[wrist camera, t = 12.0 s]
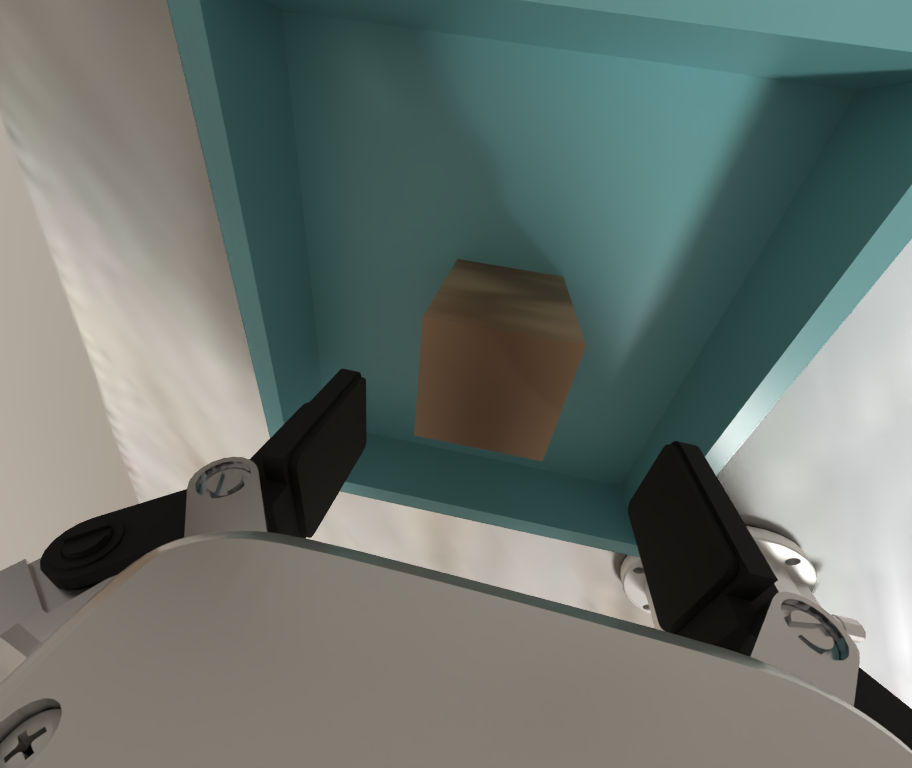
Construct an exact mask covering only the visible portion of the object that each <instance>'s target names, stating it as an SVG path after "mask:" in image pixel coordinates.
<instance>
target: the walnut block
mask: <svg viewBox="0 0 912 768" xmlns="http://www.w3.org/2000/svg"><path fill="white" fill-rule="evenodd" d="M585 347H586V344H585V341H584V338H583V334H582V331H581V328H580V325H579V322H578V319H577V316H576V313H575V310H574V307H573V304H572V301H571V298H570V295H569V292H568V289H567V286H566V283H565V280H564V277H562V276H556V275H550V274H544V273H538V272H533V271H527V270H521V269H515V268H509V267H503V266H497V265H491V264H485V263H479V262H473V261H467V260H461V259H457V261H456V262H455V264H454V266H453V267H452V269H451V271H450V272H449V274H448V276H447V277H446V279H445V281H444V282H443V284H442V285H441V287H440V289H439V290H438V292H437V294H436V295H435V297H434V299H433V300H432V302H431V304H430V305H429V307H428V308H427V310H426V312H425V313H424V315H423V321H422V335H421V348H420V362H419V376H418V390H417V404H416V417H415V431H414V436H419V437H424V438H429V439H434V440H439V441H444V442H449V443H454V444H459V445H464V446H469V447H474V448H479V449H484V450H488V451H493V452H498V453H503V454H508V455H513V456H518V457H523V458H528V459H533V460H538V461H543V459H544V456H545V453H546V451H547V448H548V446H549V443H550V440H551V438H552V435H553V432H554V430H555V427H556V424H557V422H558V419H559V416H560V414H561V411H562V408H563V406H564V403H565V400H566V398H567V395H568V392H569V390H570V387H571V384H572V382H573V379H574V376H575V374H576V371H577V368H578V366H579V363H580V360H581V358H582V355H583V353H584V350H585Z"/></svg>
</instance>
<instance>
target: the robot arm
mask: <svg viewBox="0 0 912 768" xmlns="http://www.w3.org/2000/svg"><path fill="white" fill-rule="evenodd" d="M366 440H367V433H366V379H365V378H364V377H361V373H360V372H357V371H353V370H348V369H340V370H339V371H338V372H337V373H336V374H335V376H334V377H333V378H332V379H331V380H330V381H329V382H328V383H327V384H326V385H325V386H324V387H323V388H322V389H321V390H320V391H319V392H318V393H317V394H316V396H315V397H314V398H313V399H312V400H311V401H310V402H307V403H305V404H303V405H302V406H301V407H300V408H299V409H298V410H297V411H296V412H295V413H294V414H293V415H292V416H291V417H290V418H289V419H288V420H287V422H286V423H285V424H284V425H283V426H282V427H281V428H280V429H279V430H278V431H277V432H276V433H275V434H274V435H273V436H272V437H271V438H270V439H269V440H268V441H267V442H266V443H265V444H264V445H263V446H262V447H261V448H260V449H259V450H258V452H257V453H256V454H255V455H254V456H253V457H252V458H251V459H250V460H249V459H246V458H243V457H230V458H223V459H220V460H217V461H214V462H211V463H210V464H208V465H206V466H204V467H202V468H201V469H200V470H199V471H197V472H196V473H195V474H194V475H193V477H192V478H191V479H190V481H189V484H188V487H187V489H186V490H183V491H179V492H176V493H173V494H170V495H166V496H163V497H160V498H157V499H153V500H150V501H147V502H144V503H140V504H137V505H134V506H131V507H127V508H124V509H121V510H118V511H115V512H111V513H108V514H105V515H101V516H98V517H95V518H92V519H90V520H87V521H84V522H82V523H79V524H78V525H76V526H74V527H72V528H70V529H69V530H67V531H65V532H64V533H63V534H61V535H60V536H59V537H58V538H56V539H55V540H54V541H53V542H52V543H51V544H50V545H49V547H48V548H47V549H46V550H45V551H44V553H43V555H42V557H41V558H40V559H38V560H36V561H34V562H32V563H29V562H28V561H27V560H26V559H24V560H22V561H20V562H18V563H16V564H14V565H12V566H10V567H8V568H6V569H4V570H2V571H0V768H912V709H911V708H910V707H908V706H907V705H906V704H905V703H903V702H902V701H901V700H900V699H898V698H897V697H896V696H895V695H893V694H892V693H891V692H890V691H888V690H887V689H886V688H885V687H883V686H882V685H881V684H879V683H878V682H877V681H876V680H874V679H873V678H872V677H871V676H869V675H868V674H867V673H866V672H864V671H863V670H862V669H861V668H859V659H860V657H859V650H858V648H857V646H856V644H855V643H854V642H863V641H864V640H865V631H864V629H863V626H862V625H861V624H860V623H859V622H858V621H856V620H854V619H851V618H846V617H842V616H837V615H830V614H829V613H828V612H826V611H825V610H824V609H823V608H821V606H820V605H819V603H818V602H817V600H816V598H815V597H814V595H813V594H812V591H813V589H814V587H815V585H816V579H817V575H816V571H815V568H814V566H813V564H812V563H811V562H810V560H809V559H808V557H807V556H806V554H805V553H804V551H803V550H802V549H801V548H799V547H798V546H797V545H796V544H795V543H794V542H792V541H790V540H789V539H787V538H785V537H784V536H782V535H779V534H776V533H773V532H771V531H768V530H765V529H760V528H755V527H750V526H746V525H745V524H744V522H743V520H742V519H741V517H740V515H739V513H738V512H737V510H736V508H735V507H734V505H733V503H732V502H731V500H730V498H729V497H728V495H727V493H726V492H725V490H724V488H723V487H722V485H721V483H720V482H719V480H718V478H717V477H716V475H715V473H714V472H713V470H712V468H711V466H710V465H709V463H708V461H707V460H706V458H705V456H704V455H703V453H702V451H701V450H700V448H699V447H698V446H696V445H693V444H688V443H683V442H679V441H674V442H672V443H671V444H666V445H665V446H664V447H663V449H662V450H661V452H660V453H659V455H658V457H657V458H656V460H655V461H654V463H653V465H652V466H651V468H650V470H649V471H648V473H647V474H646V476H645V478H644V479H643V481H642V482H641V484H640V486H639V487H638V489H637V490H636V492H635V494H634V495H633V497H632V499H631V500H630V502H629V505H628V515H629V519H630V522H631V526H632V529H633V533H634V537H635V540H636V544H637V548H638V551H639V555H640V557H635V556H631V555H628V556H627V557H626V558H625V559H624V561H623V563H622V566H621V570H620V577H621V581H622V586H623V590H624V592H625V594H626V596H627V598H628V599H629V600H630V601H631V602H632V603H633V604H634V605H636V606H637V607H638V608H640V609H641V610H643V611H644V612H646V613H649V614H651V615H652V619H653V622H654V626H655V629H654V628H650V627H647V626H643V625H639V624H635V623H632V622H628V621H624V620H620V619H617V618H613V617H609V616H605V615H602V614H598V613H594V612H590V611H587V610H583V609H579V608H576V607H572V606H568V605H564V604H561V603H557V602H553V601H549V600H545V599H542V598H538V597H534V596H530V595H526V594H522V593H519V592H515V591H511V590H507V589H503V588H500V587H496V586H492V585H488V584H484V583H480V582H477V581H473V580H469V579H465V578H461V577H457V576H454V575H450V574H446V573H442V572H438V571H434V570H430V569H426V568H423V567H419V566H415V565H411V564H407V563H403V562H399V561H395V560H391V559H387V558H383V557H380V556H376V555H372V554H368V553H364V552H360V551H356V550H352V549H347V548H343V547H339V546H335V545H331V544H326V543H322V542H318V541H314V540H310V539H305V538H306V537H309V538H310V537H312V536H313V535H314V533H315V532H316V530H317V528H318V527H319V525H320V523H321V522H322V520H323V518H324V517H325V515H326V513H327V511H328V510H329V508H330V506H331V505H332V503H333V501H334V500H335V498H336V496H337V495H338V493H339V491H340V490H341V488H342V486H343V485H344V483H345V481H346V480H347V478H348V476H349V474H350V473H351V471H352V469H353V468H354V466H355V464H356V463H357V461H358V459H359V458H360V456H361V454H362V453H363V451H364V449H365V446H366Z"/></svg>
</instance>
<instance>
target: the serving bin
mask: <svg viewBox="0 0 912 768" xmlns="http://www.w3.org/2000/svg"><path fill="white" fill-rule="evenodd" d="M167 3H168V7H169V11H170V15H171V20H172V24H173V28H174V32H175V37H176V41H177V45H178V49H179V54H180V58H181V62H182V66H183V71H184V75H185V79H186V83H187V87H188V92H189V96H190V100H191V104H192V109H193V113H194V117H195V121H196V126H197V130H198V134H199V138H200V143H201V147H202V151H203V155H204V160H205V164H206V168H207V172H208V176H209V181H210V185H211V189H212V193H213V198H214V202H215V206H216V210H217V215H218V219H219V223H220V227H221V232H222V236H223V240H224V244H225V249H226V253H227V257H228V261H229V266H230V270H231V274H232V278H233V282H234V287H235V291H236V295H237V299H238V304H239V308H240V312H241V316H242V321H243V325H244V329H245V333H246V338H247V342H248V346H249V350H250V355H251V359H252V363H253V367H254V372H255V376H256V380H257V384H258V388H259V393H260V397H261V401H262V405H263V410H264V414H265V418H266V422H267V427H268V431H269V435H270V438H271V437H272V436H273V435H274V434H275V433H276V432H277V431H278V430H279V429H280V428H281V427H282V426H283V425H284V424H285V423H286V422H287V420H288V419H289V418H290V417H291V416H292V415H293V414H294V413H295V412H296V411H297V410H298V409H299V408H300V407H301V406H302V405H303V404H305V403H307V402H310V401H311V400H312V399H313V398H314V397H315V396H316V394H317V393H318V392H319V391H320V390H321V389H322V388H323V387H324V386H325V385H326V384H327V383H328V382H329V381H330V380H331V379H332V378H333V377H334V376H335V374H336V373H337V372H338V371H339V370H340V369H348V370H353V371H357V372H360V373H361V377H364V378H365V379H366V433H367V440H366V446H365V449H364V451H363V453H362V454H361V456H360V458H359V459H358V461H357V463H356V464H355V466H354V468H353V469H352V471H351V473H350V474H349V476H348V478H347V480H346V481H345V483H344V485H343V486H342V488H341V490H340V491H341V492H345V493H350V494H355V495H359V496H364V497H368V498H373V499H377V500H382V501H386V502H391V503H395V504H400V505H404V506H409V507H413V508H418V509H422V510H427V511H432V512H436V513H441V514H445V515H450V516H454V517H459V518H463V519H468V520H472V521H477V522H481V523H486V524H490V525H495V526H499V527H504V528H509V529H513V530H518V531H522V532H527V533H531V534H536V535H540V536H545V537H549V538H554V539H558V540H563V541H567V542H572V543H576V544H581V545H586V546H590V547H595V548H599V549H604V550H608V551H613V552H617V553H622V554H626V555H631V556H635V557H640V555H639V551H638V548H637V544H636V540H635V537H634V533H633V529H632V526H631V522H630V519H629V515H628V505H629V502H630V500H631V499H632V497H633V495H634V494H635V492H636V490H637V489H638V487H639V486H640V484H641V482H642V481H643V479H644V478H645V476H646V474H647V473H648V471H649V470H650V468H651V466H652V465H653V463H654V461H655V460H656V458H657V457H658V455H659V453H660V452H661V450H662V449H663V447H664V446H665V445H666V444H671V443H672V442H674V441H679V442H683V443H688V444H693V445H696V446H698V447H699V448H700V450H701V451H702V453H703V455H704V456H705V458H706V460H707V461H708V463H709V465H710V466H711V468H712V470H713V472H714V473H715V475H716V476H717V475H718V473H719V472H720V471H721V470H722V468H723V467H724V466H725V465H726V464H727V462H728V461H729V460H730V459H731V457H732V456H733V455H734V454H735V453H736V451H737V450H738V449H739V448H740V447H741V445H742V444H743V443H744V442H745V440H746V439H747V438H748V437H749V436H750V434H751V433H752V432H753V431H754V430H755V428H756V427H757V426H758V425H759V423H760V422H761V421H762V420H763V419H764V417H765V416H766V415H767V414H768V413H769V411H770V410H771V409H772V408H773V406H774V405H775V404H776V403H777V402H778V400H779V399H780V398H781V397H782V396H783V394H784V393H785V392H786V391H787V389H788V388H789V387H790V386H791V385H792V383H793V382H794V381H795V380H796V378H797V377H798V376H799V375H800V374H801V372H802V371H803V370H804V369H805V368H806V366H807V365H808V364H809V363H810V361H811V360H812V359H813V358H814V357H815V355H816V354H817V353H818V352H819V351H820V349H821V348H822V347H823V346H824V344H825V343H826V342H827V341H828V340H829V338H830V337H831V336H832V335H833V334H834V332H835V331H836V330H837V329H838V327H839V326H840V325H841V324H842V323H843V321H844V320H845V319H846V318H847V317H848V315H849V314H850V313H851V312H852V310H853V309H854V308H855V307H856V306H857V304H858V303H859V302H860V301H861V300H862V298H863V297H864V296H865V295H866V293H867V292H868V291H869V290H870V289H871V287H872V286H873V285H874V284H875V282H876V281H877V280H878V279H879V278H880V276H881V275H882V274H883V273H884V272H885V270H886V269H887V268H888V267H889V265H890V264H891V263H892V262H893V261H894V259H895V258H896V257H897V256H898V255H899V253H900V252H901V251H902V250H903V248H904V247H905V246H906V245H907V244H908V242H909V241H910V240H911V239H912V0H167ZM457 259H461V260H467V261H473V262H479V263H485V264H491V265H497V266H503V267H509V268H515V269H521V270H527V271H533V272H538V273H544V274H550V275H556V276H562V277H564V280H565V283H566V286H567V289H568V292H569V295H570V298H571V301H572V304H573V307H574V310H575V313H576V316H577V319H578V322H579V325H580V328H581V331H582V334H583V338H584V341H585V344H586V347H585V350H584V353H583V355H582V358H581V360H580V363H579V366H578V368H577V371H576V374H575V376H574V379H573V382H572V384H571V387H570V390H569V392H568V395H567V398H566V400H565V403H564V406H563V408H562V411H561V414H560V416H559V419H558V422H557V424H556V427H555V430H554V432H553V435H552V438H551V440H550V443H549V446H548V448H547V451H546V453H545V456H544V459H543V461H538V460H533V459H528V458H523V457H518V456H513V455H508V454H503V453H498V452H493V451H488V450H484V449H479V448H474V447H469V446H464V445H459V444H454V443H449V442H444V441H439V440H434V439H429V438H424V437H419V436H414V431H415V417H416V404H417V390H418V376H419V362H420V348H421V335H422V321H423V315H424V313H425V312H426V310H427V308H428V307H429V305H430V304H431V302H432V300H433V299H434V297H435V295H436V294H437V292H438V290H439V289H440V287H441V285H442V284H443V282H444V281H445V279H446V277H447V276H448V274H449V272H450V271H451V269H452V267H453V266H454V264H455V262H456V261H457Z"/></svg>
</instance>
